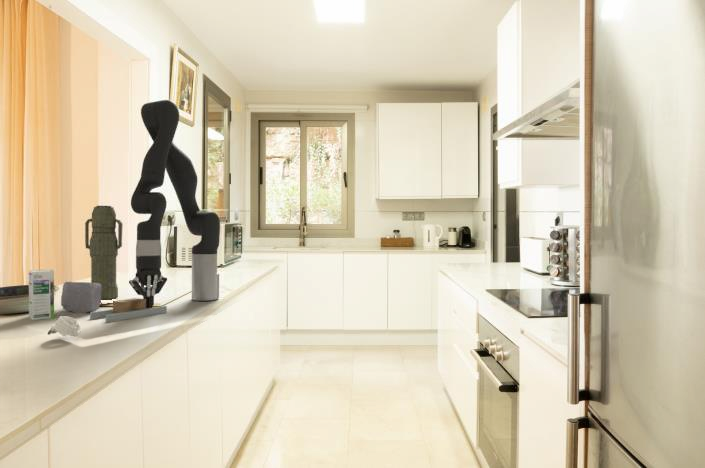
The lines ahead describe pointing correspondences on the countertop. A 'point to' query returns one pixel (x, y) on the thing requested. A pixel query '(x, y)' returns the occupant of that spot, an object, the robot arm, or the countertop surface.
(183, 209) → the robot arm
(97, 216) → the thermos
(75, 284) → the stone block
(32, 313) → the syrup box
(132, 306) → the walnut block
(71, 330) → the white rolled cloth
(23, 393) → the countertop surface
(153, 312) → the guide channel
